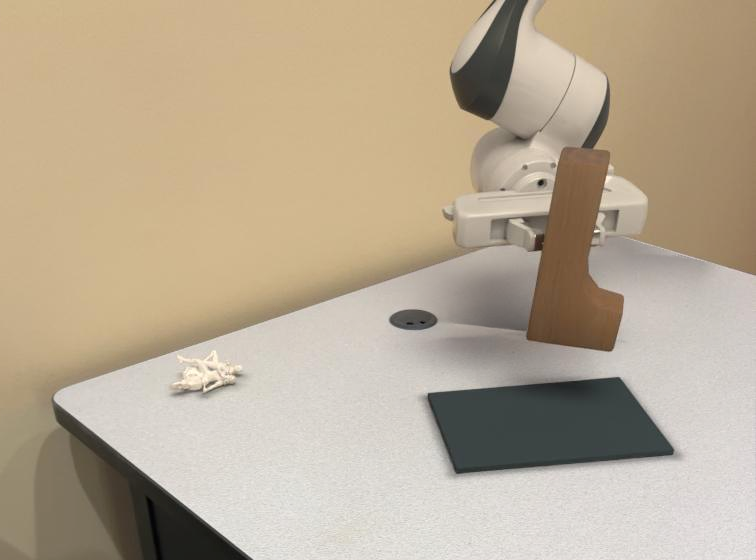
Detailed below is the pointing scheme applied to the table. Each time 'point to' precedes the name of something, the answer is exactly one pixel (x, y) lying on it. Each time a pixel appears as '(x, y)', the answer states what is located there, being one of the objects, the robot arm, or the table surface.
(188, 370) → the figurine
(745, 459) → the table surface
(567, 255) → the wooden block
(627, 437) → the mat
